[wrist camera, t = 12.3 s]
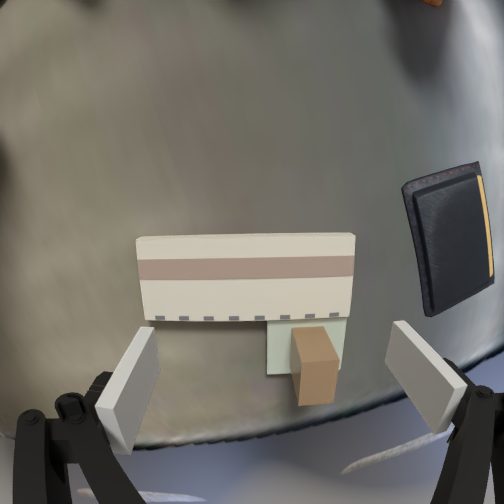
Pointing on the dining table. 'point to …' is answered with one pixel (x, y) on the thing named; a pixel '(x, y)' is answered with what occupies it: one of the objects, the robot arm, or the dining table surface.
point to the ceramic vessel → (434, 2)
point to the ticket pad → (246, 276)
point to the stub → (307, 355)
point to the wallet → (450, 235)
